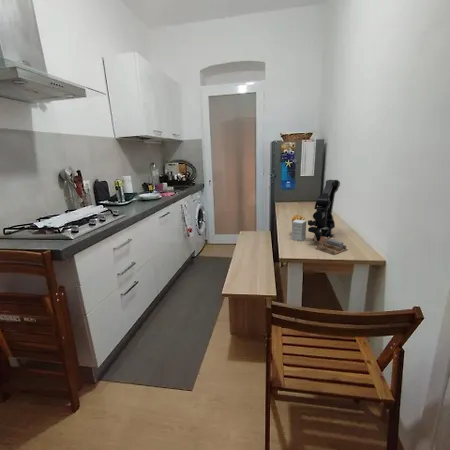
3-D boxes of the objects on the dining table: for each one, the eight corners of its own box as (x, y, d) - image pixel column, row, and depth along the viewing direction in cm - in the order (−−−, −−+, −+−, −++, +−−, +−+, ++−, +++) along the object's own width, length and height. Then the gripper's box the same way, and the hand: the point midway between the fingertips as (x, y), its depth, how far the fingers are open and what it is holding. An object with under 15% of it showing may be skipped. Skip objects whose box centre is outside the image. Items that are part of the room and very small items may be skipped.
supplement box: (295, 236, 181) (296, 219, 178) (305, 238, 177) (306, 220, 174) (290, 239, 176) (291, 221, 173) (301, 241, 171) (302, 223, 168)
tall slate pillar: (326, 246, 160) (326, 239, 159) (329, 244, 162) (330, 238, 161) (339, 250, 153) (339, 243, 152) (342, 248, 155) (343, 242, 153)
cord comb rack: (315, 248, 158) (315, 244, 157) (328, 244, 164) (328, 240, 164) (334, 255, 147) (334, 251, 146) (347, 250, 154) (348, 246, 153)
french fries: (291, 236, 183) (292, 215, 179) (290, 232, 190) (291, 212, 186) (304, 236, 181) (305, 215, 177) (303, 232, 189) (304, 212, 185)
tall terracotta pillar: (313, 240, 173) (314, 234, 172) (318, 239, 174) (318, 234, 173) (322, 244, 164) (322, 238, 163) (326, 243, 165) (327, 238, 164)
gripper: (320, 213, 176) (318, 234, 180) (302, 217, 166) (300, 240, 170) (335, 215, 167) (333, 238, 171) (316, 220, 157) (314, 244, 161)
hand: (320, 240), depth 169 cm, fingers closed on tall terracotta pillar, 4 cm apart
